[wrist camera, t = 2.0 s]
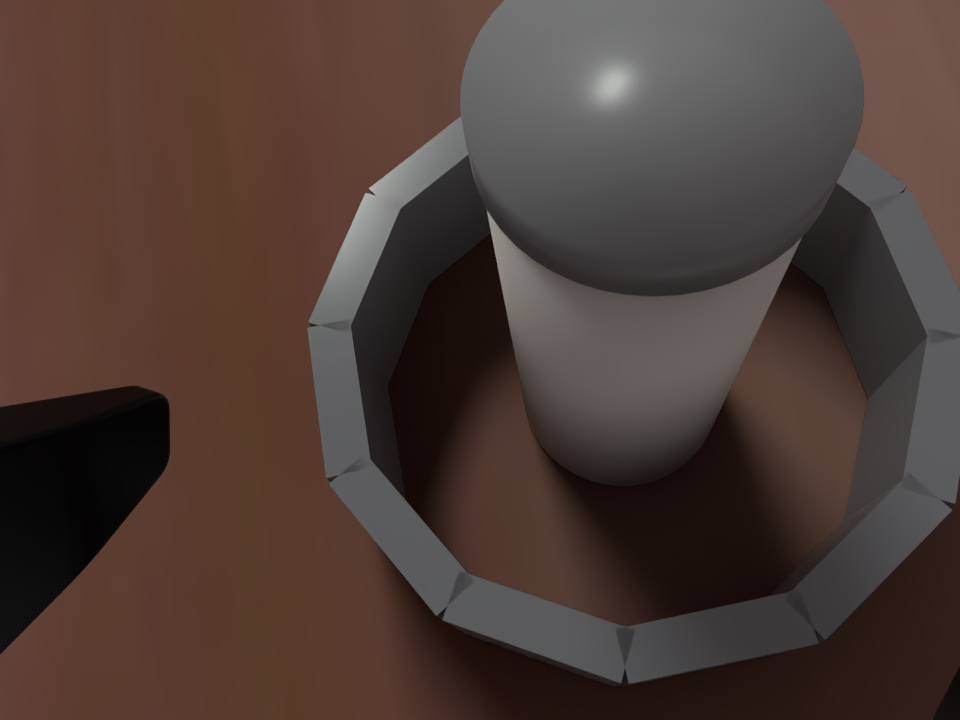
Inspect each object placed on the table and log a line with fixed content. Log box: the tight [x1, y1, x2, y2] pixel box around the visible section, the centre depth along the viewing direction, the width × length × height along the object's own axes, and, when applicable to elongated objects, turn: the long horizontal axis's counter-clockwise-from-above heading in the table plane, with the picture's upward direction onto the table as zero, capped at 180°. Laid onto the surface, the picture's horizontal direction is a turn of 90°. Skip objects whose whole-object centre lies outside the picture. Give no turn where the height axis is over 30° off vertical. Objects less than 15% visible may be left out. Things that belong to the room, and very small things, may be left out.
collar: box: [307, 117, 960, 687], centre depth 20 cm, size 14×14×4 cm
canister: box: [460, 0, 864, 486], centre depth 17 cm, size 5×5×12 cm
